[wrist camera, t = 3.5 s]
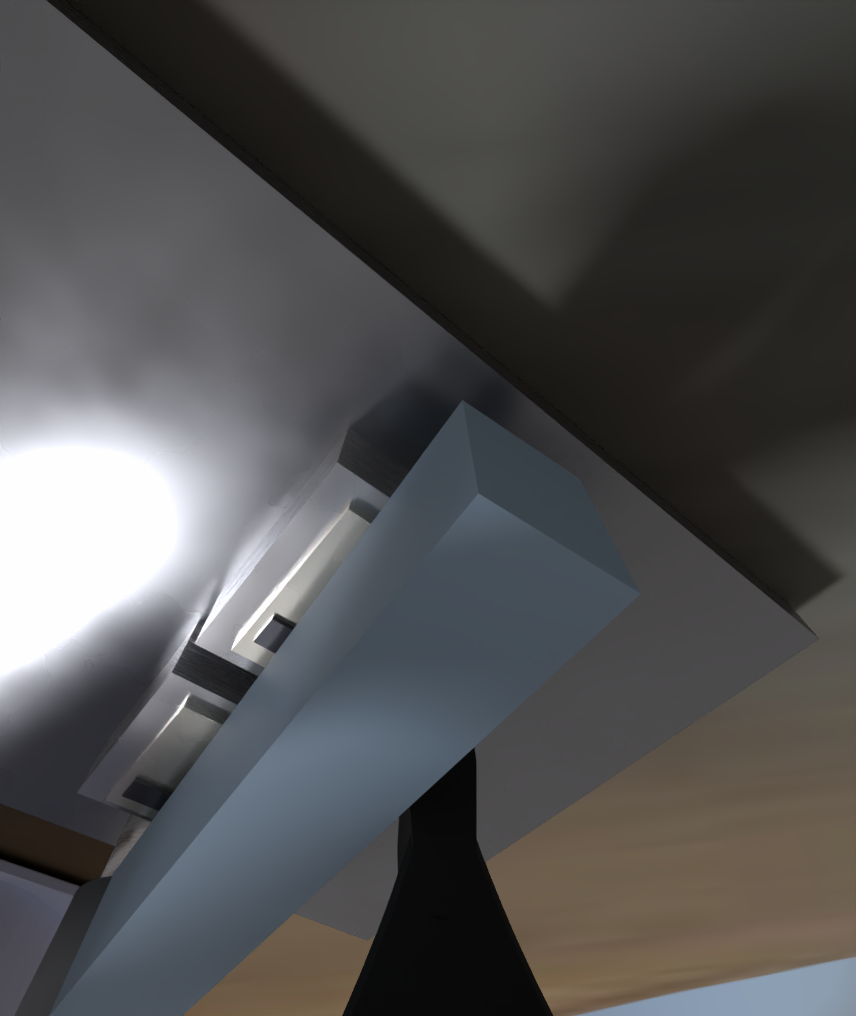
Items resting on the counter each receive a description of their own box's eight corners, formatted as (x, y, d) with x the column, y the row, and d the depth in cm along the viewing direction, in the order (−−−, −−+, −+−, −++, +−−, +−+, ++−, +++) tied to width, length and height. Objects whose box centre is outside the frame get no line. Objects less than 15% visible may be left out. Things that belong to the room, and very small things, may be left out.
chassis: (370, 903, 21) (362, 1004, 18) (-207, 673, 15) (-338, 774, 13) (789, 605, 14) (872, 700, 12) (31, -29, 8) (-150, -126, 6)
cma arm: (173, 950, 16) (126, 1090, 13) (57, 918, 15) (-16, 1061, 12) (604, 495, 9) (673, 614, 6) (433, 379, 8) (436, 468, 5)
